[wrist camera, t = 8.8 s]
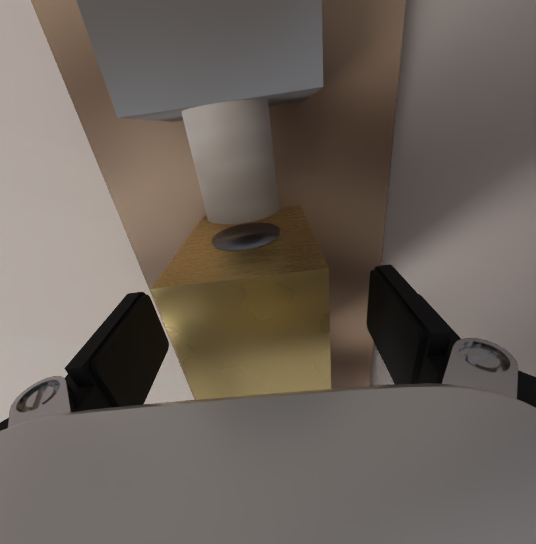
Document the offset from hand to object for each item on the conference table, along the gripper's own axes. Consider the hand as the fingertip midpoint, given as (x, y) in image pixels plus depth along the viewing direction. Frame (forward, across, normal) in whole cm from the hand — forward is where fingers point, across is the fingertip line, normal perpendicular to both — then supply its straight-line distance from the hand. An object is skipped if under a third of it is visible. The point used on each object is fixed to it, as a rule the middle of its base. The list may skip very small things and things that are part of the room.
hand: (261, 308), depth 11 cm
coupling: (+3, 0, 0) cm, 3 cm away
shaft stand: (+4, 0, 0) cm, 4 cm away
